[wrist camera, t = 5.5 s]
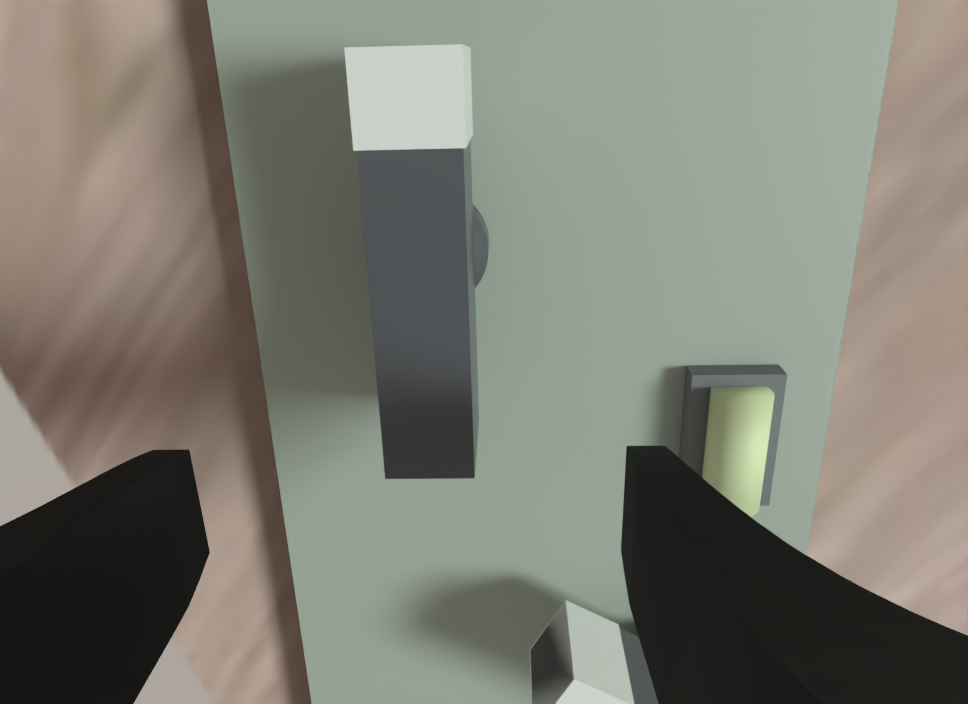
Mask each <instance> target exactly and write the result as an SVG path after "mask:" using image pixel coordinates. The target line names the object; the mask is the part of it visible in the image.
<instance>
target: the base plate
mask: <svg viewBox="0 0 968 704" xmlns="http://www.w3.org/2000/svg"><path fill="white" fill-rule="evenodd" d="M207 5H208V11H209V18H210V25H211V31H212V38H213V45H214V52H215V58H216V65H217V72H218V78H219V85H220V92H221V99H222V105H223V112H224V119H225V125H226V132H227V139H228V146H229V152H230V159H231V166H232V173H233V179H234V186H235V193H236V199H237V206H238V213H239V220H240V226H241V233H242V240H243V246H244V253H245V260H246V267H247V273H248V280H249V287H250V293H251V300H252V307H253V314H254V320H255V327H256V334H257V340H258V347H259V354H260V361H261V367H262V374H263V381H264V388H265V394H266V401H267V408H268V414H269V421H270V428H271V435H272V441H273V448H274V455H275V461H276V468H277V475H278V482H279V488H280V495H281V502H282V508H283V515H284V522H285V529H286V535H287V542H288V549H289V556H290V562H291V569H292V576H293V582H294V589H295V596H296V603H297V609H298V616H299V623H300V629H301V636H302V643H303V650H304V656H305V663H306V670H307V676H308V683H309V690H310V697H311V703H312V704H531V680H530V653H529V650H530V648H531V647H532V646H533V644H534V643H535V641H536V640H537V639H538V637H539V636H540V635H541V633H542V632H543V630H544V629H545V628H546V626H547V625H548V624H549V622H550V621H551V620H552V618H553V617H554V615H555V614H556V613H557V611H558V610H559V609H560V607H561V606H562V604H563V603H564V602H565V600H567V601H569V602H571V603H573V604H575V605H578V606H580V607H582V608H584V609H586V610H588V611H591V612H593V613H595V614H597V615H599V616H601V617H604V618H606V619H608V620H610V621H612V622H614V623H617V624H619V628H621V629H623V630H625V631H627V632H630V633H632V634H634V635H636V636H637V635H638V633H637V629H636V626H635V622H634V619H633V615H632V612H631V608H630V605H629V599H628V593H627V587H626V581H625V575H624V568H623V561H622V555H621V539H622V521H623V502H624V484H625V465H626V447H627V446H666V447H667V448H668V449H670V450H671V451H672V452H673V453H674V454H676V455H677V456H678V457H679V458H680V459H681V460H682V461H684V462H685V463H686V464H687V465H688V466H689V467H690V468H692V469H693V470H694V471H695V472H696V473H697V474H699V475H700V476H701V477H702V478H703V479H704V480H705V481H707V482H708V483H709V484H710V485H711V486H713V487H714V488H715V489H716V490H717V491H718V492H720V493H721V494H722V495H723V496H725V497H726V498H727V499H728V500H729V501H731V502H732V503H733V504H734V505H736V506H737V507H738V508H740V509H741V510H742V511H743V512H745V513H746V514H747V515H749V516H750V517H751V518H753V519H754V520H755V521H757V522H758V523H759V524H761V525H762V526H764V527H765V528H766V529H768V530H769V531H771V532H772V533H774V534H775V535H776V536H778V537H779V538H781V539H782V540H783V541H785V542H786V543H788V544H789V545H791V546H792V547H794V548H795V549H797V550H799V551H800V552H802V553H803V554H805V555H806V551H807V545H808V539H809V533H810V527H811V521H812V515H813V509H814V503H815V497H816V491H817V485H818V479H819V473H820V467H821V461H822V455H823V449H824V443H825V437H826V431H827V425H828V419H829V413H830V407H831V401H832V395H833V389H834V383H835V377H836V371H837V365H838V359H839V353H840V347H841V341H842V335H843V329H844V323H845V317H846V311H847V305H848V299H849V293H850V287H851V281H852V275H853V269H854V263H855V257H856V251H857V245H858V239H859V233H860V227H861V221H862V215H863V209H864V203H865V197H866V191H867V185H868V179H869V173H870V167H871V161H872V155H873V149H874V143H875V137H876V131H877V125H878V119H879V113H880V107H881V101H882V95H883V89H884V83H885V77H886V71H887V65H888V59H889V53H890V47H891V41H892V35H893V29H894V23H895V17H896V11H897V5H898V0H207ZM451 44H464V45H466V46H468V47H470V49H471V84H472V118H473V135H472V137H471V172H472V204H473V205H474V206H475V207H476V208H477V209H478V211H479V212H480V214H481V215H482V217H483V219H484V221H485V224H486V226H487V230H488V234H489V252H488V261H487V267H486V270H485V273H484V275H483V277H482V279H481V281H480V282H479V284H478V285H477V287H476V288H475V303H476V336H477V369H478V402H479V429H478V442H477V455H476V467H475V478H464V479H385V471H384V460H383V448H382V437H381V425H380V413H379V402H378V390H377V379H376V367H375V356H374V344H373V332H372V321H371V309H370V298H369V286H368V274H367V263H366V251H365V240H364V228H363V216H362V205H361V193H360V182H359V170H358V159H357V151H353V142H352V131H351V119H350V108H349V97H348V85H347V74H346V63H345V51H344V47H379V46H415V45H451Z"/></svg>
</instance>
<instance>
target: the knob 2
mask: <svg viewBox="0 0 968 704" xmlns="http://www.w3.org/2000/svg"><path fill="white" fill-rule="evenodd" d="M529 653H530V680H531V704H659V703H658V700H657V697H656V693H655V690H654V686H653V683H652V680H651V676H650V673H649V670H648V666H647V663H646V660H645V656H644V653H643V650H642V646H641V643H640V639H639V636H638V635H637V636H636V635H634V634H632V633H630V632H627V631H625V630H623V629H621V628H619V624H617V623H614V622H612V621H610V620H608V619H606V618H604V617H601V616H599V615H597V614H595V613H593V612H591V611H588V610H586V609H584V608H582V607H580V606H578V605H575V604H573V603H571V602H569V601H567V600H565V602H564V603H563V604H562V606H561V607H560V609H559V610H558V611H557V613H556V614H555V615H554V617H553V618H552V620H551V621H550V622H549V624H548V625H547V626H546V628H545V629H544V630H543V632H542V633H541V635H540V636H539V637H538V639H537V640H536V641H535V643H534V644H533V646H532V647H531V648H530V650H529Z"/></svg>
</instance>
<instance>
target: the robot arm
mask: <svg viewBox="0 0 968 704" xmlns="http://www.w3.org/2000/svg"><path fill="white" fill-rule="evenodd" d="M209 553H210V552H209V547H208V542H207V537H206V532H205V527H204V522H203V517H202V512H201V507H200V502H199V497H198V492H197V486H196V481H195V476H194V471H193V466H192V461H191V456H190V451H189V450H152V451H149V452H147V453H144V454H142V455H139V456H137V457H135V458H133V459H131V460H128V461H126V462H124V463H122V464H120V465H118V466H116V467H114V468H112V469H110V470H108V471H107V472H105V473H103V474H101V475H99V476H97V477H95V478H93V479H91V480H89V481H88V482H86V483H84V484H82V485H80V486H78V487H76V488H74V489H72V490H71V491H69V492H67V493H65V494H63V495H61V496H59V497H57V498H56V499H54V500H52V501H50V502H48V503H46V504H44V505H42V506H40V507H38V508H36V509H34V510H32V511H30V512H28V513H27V514H24V515H22V516H20V517H18V518H16V519H14V520H12V521H10V522H8V523H6V524H4V525H2V526H0V704H133V703H134V702H135V700H136V698H137V696H138V694H139V693H140V691H141V689H142V688H143V686H144V684H145V682H146V681H147V679H148V677H149V675H150V674H151V672H152V670H153V668H154V667H155V665H156V663H157V662H158V660H159V658H160V656H161V655H162V653H163V651H164V649H165V648H166V646H167V644H168V642H169V641H170V639H171V637H172V635H173V633H174V632H175V630H176V628H177V626H178V624H179V623H180V621H181V619H182V617H183V615H184V614H185V612H186V610H187V608H188V606H189V604H190V602H191V599H192V597H193V594H194V592H195V590H196V587H197V585H198V582H199V580H200V577H201V574H202V572H203V569H204V566H205V563H206V561H207V558H208V555H209ZM621 555H622V561H623V568H624V575H625V581H626V587H627V593H628V599H629V605H630V608H631V612H632V615H633V619H634V622H635V626H636V629H637V633H638V636H639V639H640V643H641V646H642V650H643V653H644V656H645V660H646V663H647V666H648V670H649V673H650V676H651V680H652V683H653V686H654V690H655V693H656V697H657V700H658V703H659V704H968V636H967V635H965V634H962V633H960V632H957V631H955V630H952V629H950V628H947V627H945V626H943V625H940V624H938V623H936V622H934V621H931V620H929V619H927V618H924V617H922V616H920V615H918V614H915V613H913V612H911V611H909V610H907V609H905V608H903V607H901V606H899V605H897V604H895V603H893V602H890V601H888V600H886V599H884V598H882V597H880V596H878V595H876V594H874V593H872V592H870V591H868V590H866V589H864V588H862V587H860V586H859V585H857V584H855V583H853V582H851V581H849V580H847V579H845V578H844V577H842V576H840V575H838V574H837V573H835V572H833V571H832V570H830V569H828V568H827V567H825V566H823V565H822V564H820V563H818V562H817V561H815V560H813V559H812V558H810V557H808V556H806V555H805V554H803V553H802V552H800V551H799V550H797V549H795V548H794V547H792V546H791V545H789V544H788V543H786V542H785V541H783V540H782V539H781V538H779V537H778V536H776V535H775V534H774V533H772V532H771V531H769V530H768V529H766V528H765V527H764V526H762V525H761V524H759V523H758V522H757V521H755V520H754V519H753V518H751V517H750V516H749V515H747V514H746V513H745V512H743V511H742V510H741V509H740V508H738V507H737V506H736V505H734V504H733V503H732V502H731V501H729V500H728V499H727V498H726V497H725V496H723V495H722V494H721V493H720V492H718V491H717V490H716V489H715V488H714V487H713V486H711V485H710V484H709V483H708V482H707V481H705V480H704V479H703V478H702V477H701V476H700V475H699V474H697V473H696V472H695V471H694V470H693V469H692V468H690V467H689V466H688V465H687V464H686V463H685V462H684V461H682V460H681V459H680V458H679V457H678V456H677V455H676V454H674V453H673V452H672V451H671V450H670V449H668V448H667V447H666V446H627V447H626V465H625V484H624V502H623V521H622V539H621Z"/></svg>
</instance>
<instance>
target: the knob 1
mask: <svg viewBox="0 0 968 704" xmlns="http://www.w3.org/2000/svg"><path fill="white" fill-rule="evenodd" d="M344 51H345V63H346V74H347V85H348V97H349V108H350V119H351V131H352V142H353V151H357V159H358V170H359V182H360V193H361V205H362V216H363V228H364V240H365V251H366V263H367V274H368V286H369V298H370V309H371V321H372V332H373V344H374V356H375V367H376V379H377V390H378V402H379V413H380V425H381V437H382V448H383V460H384V471H385V479H464V478H475V467H476V455H477V442H478V429H479V402H478V369H477V336H476V303H475V288H476V287H477V285H478V284H479V282H480V281H481V279H482V277H483V275H484V273H485V270H486V267H487V261H488V252H489V234H488V230H487V226H486V224H485V221H484V219H483V217H482V215H481V214H480V212H479V211H478V209H477V208H476V207H475V206H474V205H473V204H472V172H471V137H472V135H473V118H472V84H471V49H470V47H468V46H466V45H464V44H451V45H415V46H379V47H344Z"/></svg>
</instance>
